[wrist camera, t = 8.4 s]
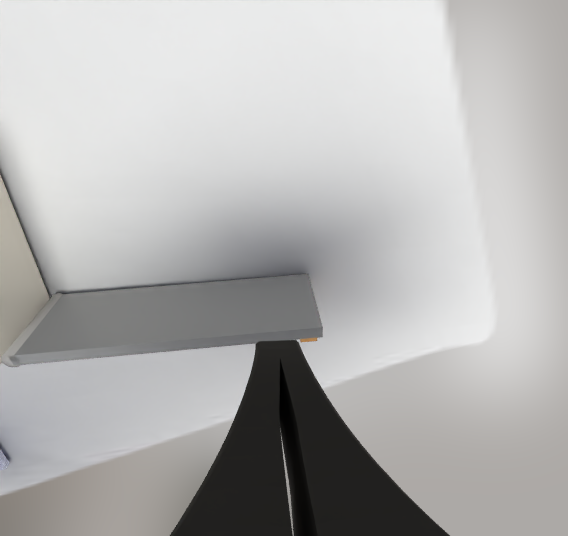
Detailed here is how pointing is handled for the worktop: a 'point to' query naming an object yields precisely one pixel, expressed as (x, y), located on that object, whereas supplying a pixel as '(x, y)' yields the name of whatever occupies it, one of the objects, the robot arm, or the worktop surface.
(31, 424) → the worktop surface
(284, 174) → the worktop surface
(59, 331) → the side door
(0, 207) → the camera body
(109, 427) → the worktop surface
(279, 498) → the robot arm
